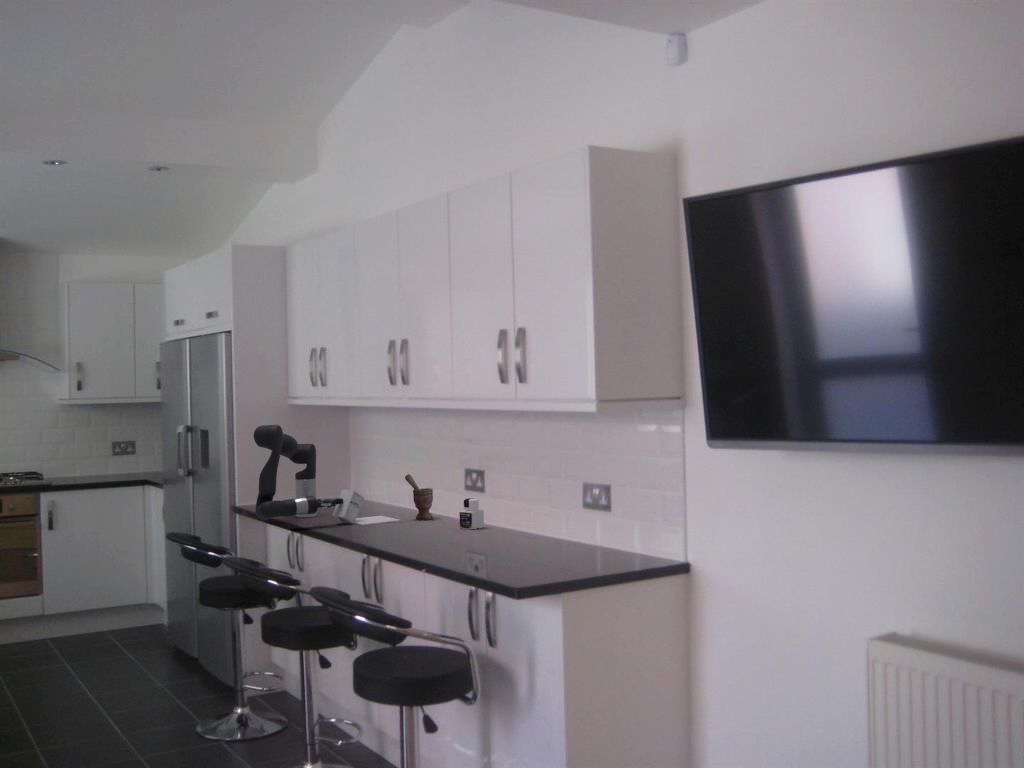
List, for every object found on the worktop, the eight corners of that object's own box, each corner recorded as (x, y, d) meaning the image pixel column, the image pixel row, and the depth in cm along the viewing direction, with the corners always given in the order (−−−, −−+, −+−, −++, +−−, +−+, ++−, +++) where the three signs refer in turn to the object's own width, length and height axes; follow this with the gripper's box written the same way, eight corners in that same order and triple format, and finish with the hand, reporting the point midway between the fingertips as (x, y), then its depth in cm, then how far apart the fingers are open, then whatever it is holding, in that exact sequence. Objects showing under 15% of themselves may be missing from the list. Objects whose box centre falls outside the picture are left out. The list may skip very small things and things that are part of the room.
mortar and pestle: (414, 521, 450) (412, 475, 450) (404, 520, 457) (402, 474, 457) (437, 519, 457) (435, 473, 457) (427, 517, 464) (425, 472, 464)
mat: (343, 521, 460) (343, 519, 460) (381, 516, 470) (381, 515, 470) (362, 525, 443) (362, 524, 443) (401, 521, 453) (401, 519, 453)
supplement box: (343, 516, 445) (354, 489, 450) (331, 515, 449) (342, 489, 454) (354, 524, 450) (364, 497, 455) (342, 523, 454) (352, 496, 459)
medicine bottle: (459, 528, 425) (458, 499, 425) (472, 526, 431) (471, 497, 431) (472, 529, 421) (471, 500, 420) (484, 527, 426) (483, 498, 426)
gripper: (309, 498, 434) (348, 493, 444) (297, 495, 446) (335, 490, 455) (310, 516, 435) (349, 510, 444) (298, 513, 446) (336, 508, 455)
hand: (342, 500), depth 450 cm, fingers closed
